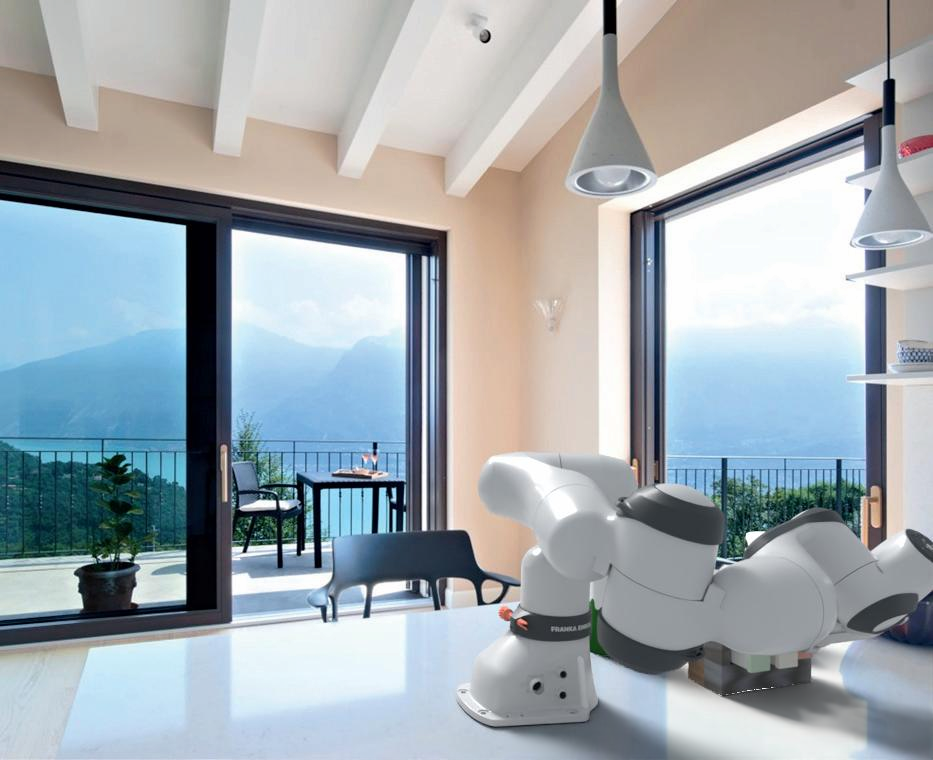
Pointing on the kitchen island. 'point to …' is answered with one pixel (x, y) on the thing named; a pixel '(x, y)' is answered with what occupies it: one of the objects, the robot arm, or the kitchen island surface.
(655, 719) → the kitchen island surface
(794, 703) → the kitchen island surface
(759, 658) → the sage button
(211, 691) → the kitchen island surface
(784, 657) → the cream button
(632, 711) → the kitchen island surface
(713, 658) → the console
